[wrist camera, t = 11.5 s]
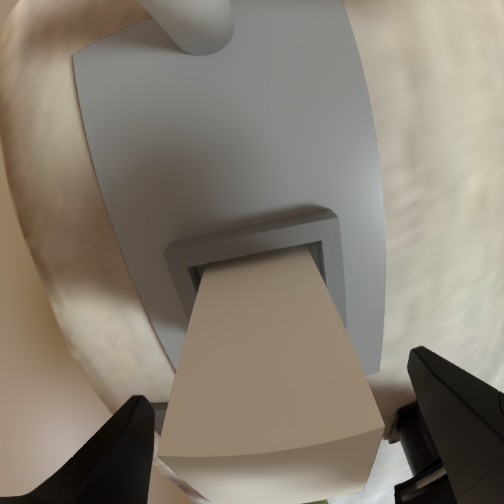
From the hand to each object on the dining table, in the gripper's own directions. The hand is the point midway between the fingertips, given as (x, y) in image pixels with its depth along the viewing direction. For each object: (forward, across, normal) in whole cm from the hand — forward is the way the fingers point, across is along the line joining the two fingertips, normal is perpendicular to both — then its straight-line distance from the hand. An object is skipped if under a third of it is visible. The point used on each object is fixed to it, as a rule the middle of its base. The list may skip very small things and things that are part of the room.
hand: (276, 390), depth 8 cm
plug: (+6, 0, 0) cm, 6 cm away
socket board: (+7, 0, -3) cm, 7 cm away
